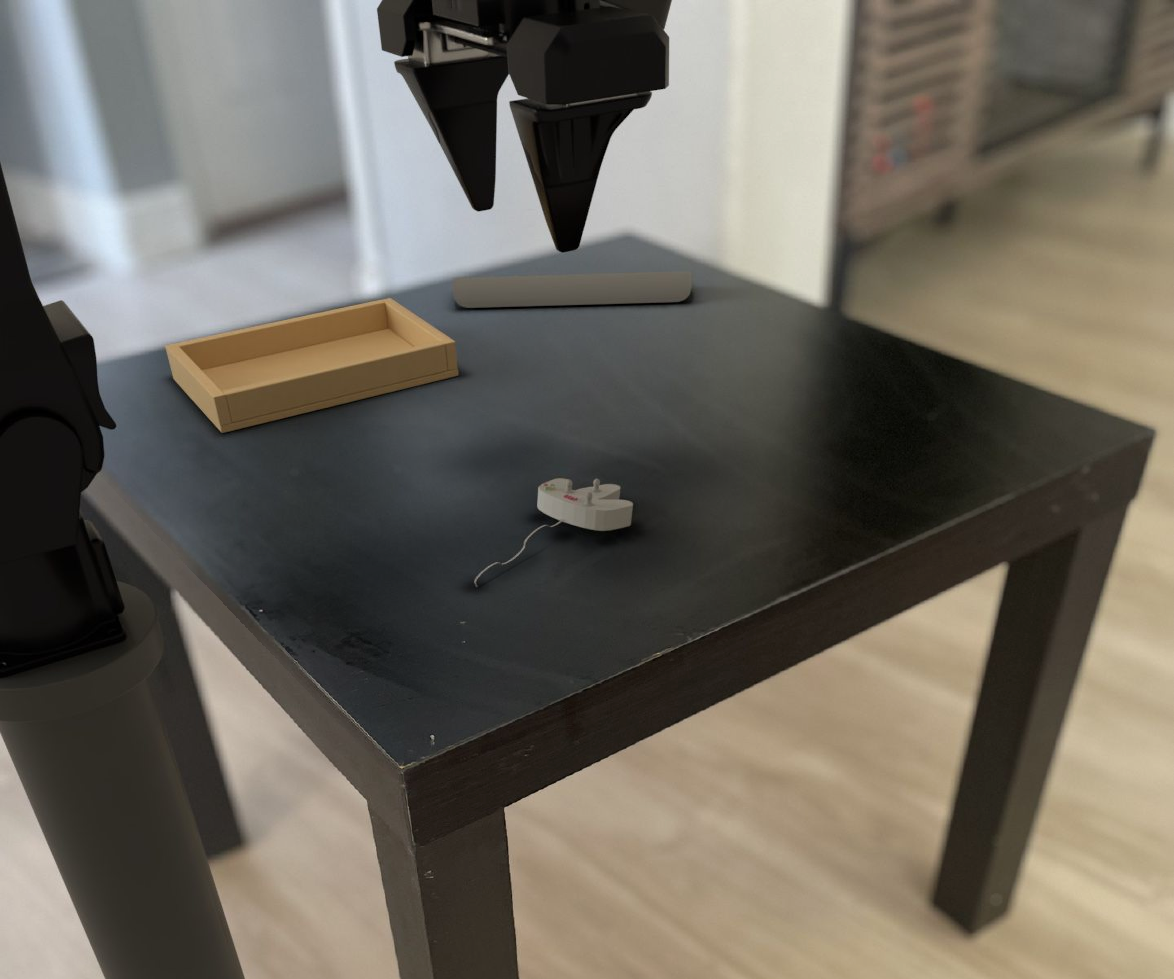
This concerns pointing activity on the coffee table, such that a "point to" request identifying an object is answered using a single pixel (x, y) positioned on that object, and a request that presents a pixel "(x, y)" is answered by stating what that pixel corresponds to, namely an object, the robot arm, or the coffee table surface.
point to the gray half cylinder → (572, 289)
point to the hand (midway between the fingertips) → (523, 229)
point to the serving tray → (310, 363)
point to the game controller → (582, 506)
